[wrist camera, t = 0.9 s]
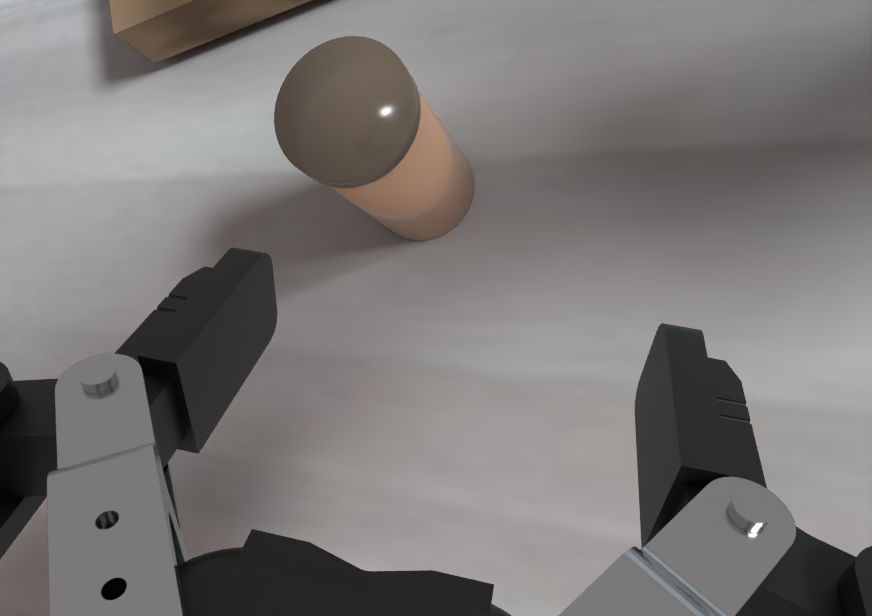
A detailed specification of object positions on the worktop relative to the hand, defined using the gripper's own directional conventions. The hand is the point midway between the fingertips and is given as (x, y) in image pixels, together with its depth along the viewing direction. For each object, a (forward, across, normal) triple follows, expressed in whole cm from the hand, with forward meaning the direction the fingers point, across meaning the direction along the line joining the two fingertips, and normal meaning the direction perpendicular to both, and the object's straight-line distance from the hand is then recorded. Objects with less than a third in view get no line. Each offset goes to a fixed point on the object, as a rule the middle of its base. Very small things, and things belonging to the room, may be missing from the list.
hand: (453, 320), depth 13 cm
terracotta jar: (+19, +4, +7) cm, 21 cm away
